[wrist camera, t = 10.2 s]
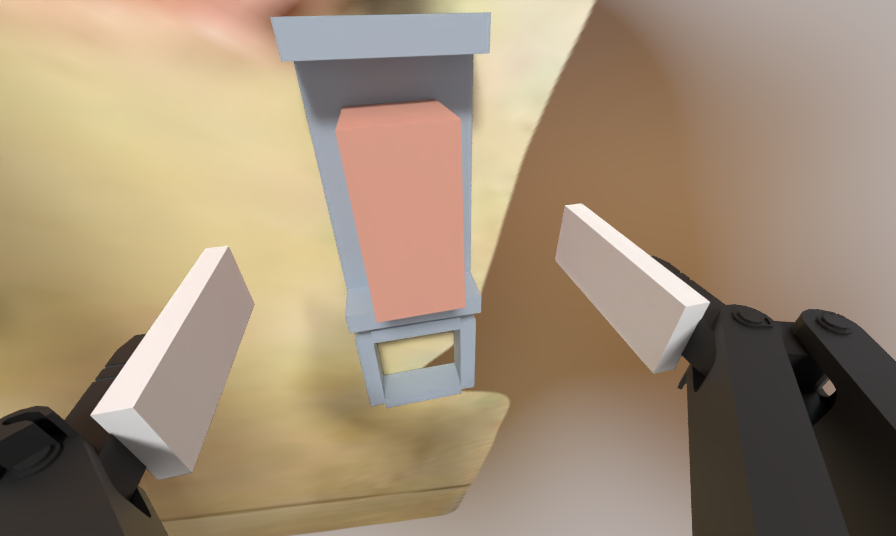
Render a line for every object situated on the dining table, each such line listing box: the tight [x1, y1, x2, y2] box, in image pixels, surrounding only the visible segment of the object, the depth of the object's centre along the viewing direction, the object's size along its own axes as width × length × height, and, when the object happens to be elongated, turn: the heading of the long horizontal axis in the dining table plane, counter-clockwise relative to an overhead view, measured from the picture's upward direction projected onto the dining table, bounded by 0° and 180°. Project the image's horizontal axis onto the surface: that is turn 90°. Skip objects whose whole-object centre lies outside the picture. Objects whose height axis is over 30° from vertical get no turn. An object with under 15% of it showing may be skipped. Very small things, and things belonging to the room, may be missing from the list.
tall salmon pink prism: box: [335, 99, 466, 323], centre depth 19 cm, size 10×5×6 cm, turn 3°
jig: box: [270, 12, 491, 408], centre depth 23 cm, size 27×9×4 cm, turn 2°
